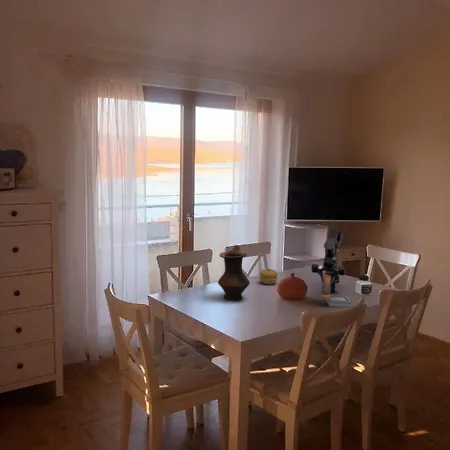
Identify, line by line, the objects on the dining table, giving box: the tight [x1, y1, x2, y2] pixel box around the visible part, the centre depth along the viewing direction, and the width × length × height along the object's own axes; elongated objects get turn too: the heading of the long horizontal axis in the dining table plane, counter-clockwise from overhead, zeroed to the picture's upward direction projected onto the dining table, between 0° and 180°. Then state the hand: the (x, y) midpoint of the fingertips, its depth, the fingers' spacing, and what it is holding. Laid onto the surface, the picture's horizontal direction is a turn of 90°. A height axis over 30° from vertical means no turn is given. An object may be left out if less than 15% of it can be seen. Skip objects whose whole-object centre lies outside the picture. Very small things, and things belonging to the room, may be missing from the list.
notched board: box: [325, 295, 352, 308], centre depth 288 cm, size 12×12×3 cm
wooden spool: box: [319, 273, 333, 298], centre depth 282 cm, size 6×6×12 cm
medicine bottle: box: [355, 273, 373, 296], centre depth 309 cm, size 7×7×12 cm
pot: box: [258, 268, 279, 285], centre depth 326 cm, size 12×12×10 cm
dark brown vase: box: [217, 244, 251, 301], centre depth 291 cm, size 21×18×30 cm
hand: (326, 282), depth 280 cm, fingers closed on wooden spool, 4 cm apart
